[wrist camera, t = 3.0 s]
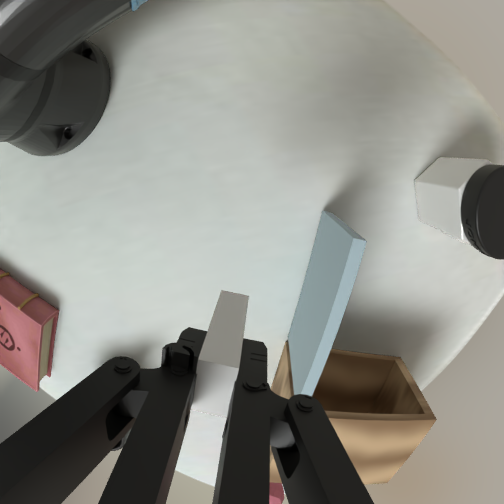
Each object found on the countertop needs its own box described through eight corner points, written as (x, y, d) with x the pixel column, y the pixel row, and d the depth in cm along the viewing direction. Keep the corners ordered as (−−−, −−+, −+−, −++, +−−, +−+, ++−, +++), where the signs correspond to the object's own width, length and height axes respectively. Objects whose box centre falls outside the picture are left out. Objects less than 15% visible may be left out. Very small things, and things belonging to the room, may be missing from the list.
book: (61, 305, 38) (41, 320, 33) (51, 375, 42) (37, 392, 37) (-5, 258, 36) (-25, 268, 32) (-7, 331, 40) (-24, 343, 36)
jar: (401, 214, 32) (459, 241, 21) (423, 147, 30) (488, 146, 18) (457, 240, 33) (518, 273, 21) (478, 179, 30) (545, 192, 19)
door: (286, 339, 36) (294, 412, 25) (322, 210, 32) (354, 238, 20) (295, 340, 36) (305, 413, 25) (331, 212, 32) (367, 241, 20)
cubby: (285, 341, 37) (292, 414, 25) (400, 357, 37) (436, 419, 25) (263, 410, 40) (261, 481, 28) (366, 419, 40) (386, 482, 28)
